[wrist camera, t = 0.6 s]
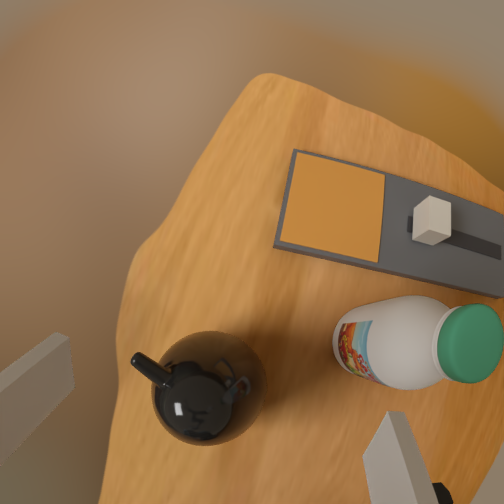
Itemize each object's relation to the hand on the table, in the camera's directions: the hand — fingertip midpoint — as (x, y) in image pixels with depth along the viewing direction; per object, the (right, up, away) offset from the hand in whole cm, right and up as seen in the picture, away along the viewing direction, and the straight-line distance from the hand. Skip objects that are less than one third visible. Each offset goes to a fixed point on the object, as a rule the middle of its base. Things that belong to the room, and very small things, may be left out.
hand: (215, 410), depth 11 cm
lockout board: (+21, +9, +25) cm, 34 cm away
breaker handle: (+22, +9, +23) cm, 33 cm away
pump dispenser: (-3, -7, +21) cm, 22 cm away
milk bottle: (+14, -4, +22) cm, 26 cm away
